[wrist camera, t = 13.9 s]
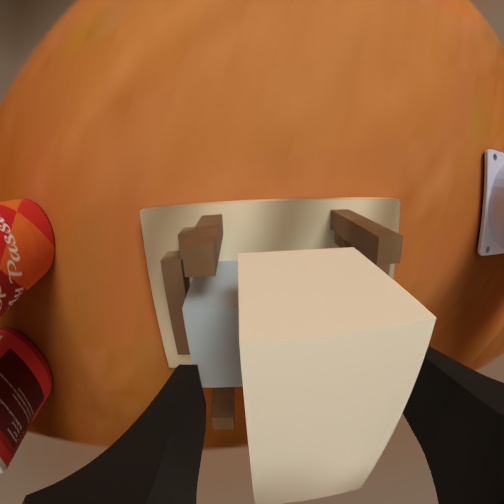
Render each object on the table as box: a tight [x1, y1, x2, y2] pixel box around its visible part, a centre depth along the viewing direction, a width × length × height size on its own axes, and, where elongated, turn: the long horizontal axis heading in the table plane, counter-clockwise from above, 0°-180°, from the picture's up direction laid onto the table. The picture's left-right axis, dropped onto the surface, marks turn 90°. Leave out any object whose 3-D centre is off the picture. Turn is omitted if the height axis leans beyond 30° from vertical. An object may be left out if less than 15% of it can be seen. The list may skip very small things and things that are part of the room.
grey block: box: [182, 260, 243, 388], centre depth 13 cm, size 8×4×5 cm, turn 92°
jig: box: [140, 197, 403, 430], centre depth 13 cm, size 14×10×6 cm
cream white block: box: [238, 247, 436, 504], centre depth 8 cm, size 8×4×5 cm, turn 2°
